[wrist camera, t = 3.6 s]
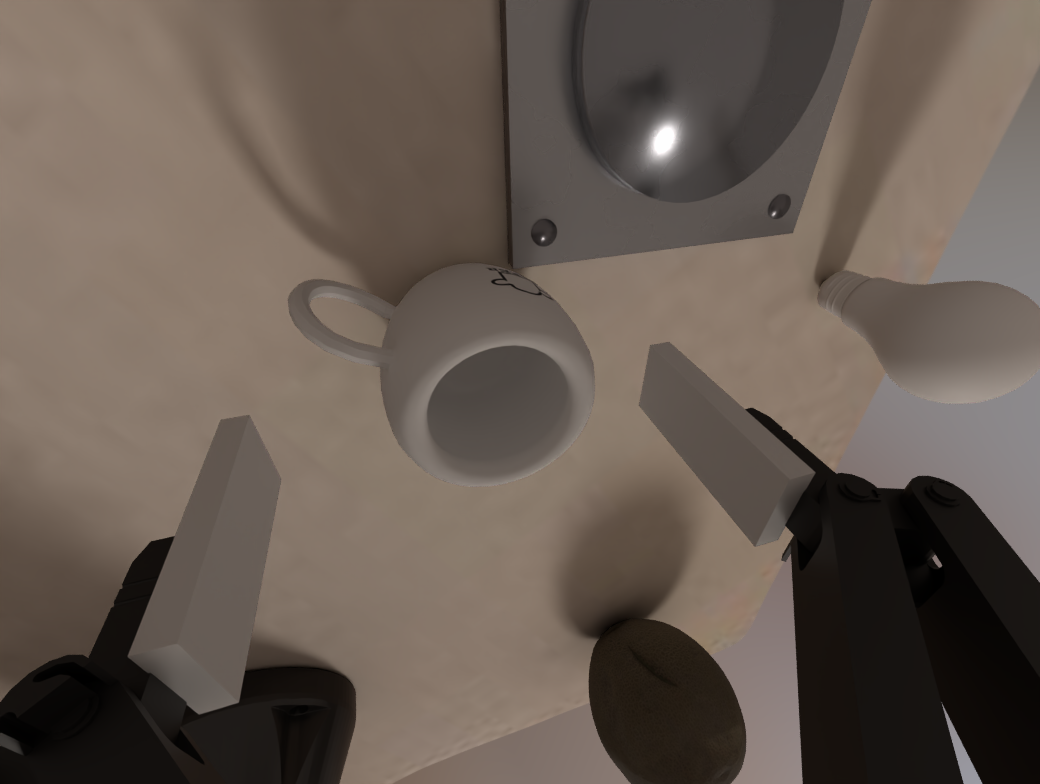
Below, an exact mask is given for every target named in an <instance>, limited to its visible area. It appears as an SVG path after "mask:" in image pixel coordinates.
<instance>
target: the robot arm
mask: <svg viewBox="0 0 1040 784" xmlns="http://www.w3.org/2000/svg"><path fill="white" fill-rule="evenodd" d="M639 406H640V407H641V409H642V410H643V411H644V412H645V414H646V415H647V416H648V417H649V418H650V420H651V421H652V422H653V423H654V425H655V426H656V427H657V428H658V429H659V431H660V432H661V433H662V434H663V435H664V437H665V438H666V439H667V440H668V442H669V443H670V444H671V445H672V446H673V448H674V449H675V450H676V451H677V452H678V454H679V455H680V456H681V457H682V459H683V460H684V461H685V462H686V463H687V465H688V466H689V467H690V468H691V470H692V471H693V472H694V473H695V474H696V476H697V477H698V478H699V479H700V480H701V482H702V483H703V484H704V485H705V487H706V488H707V489H708V490H709V491H710V493H711V494H712V495H713V496H714V498H715V499H716V500H717V501H718V502H719V504H720V505H721V506H722V507H723V508H724V510H725V511H726V512H727V513H728V515H729V516H730V517H731V518H732V519H733V521H734V522H735V523H736V524H737V525H738V527H739V528H740V529H741V530H742V532H743V533H744V534H745V535H746V536H747V538H748V539H749V540H750V541H751V543H752V544H753V545H754V546H755V547H756V546H760V545H763V544H766V543H769V542H773V541H776V540H778V539H779V537H780V535H781V534H782V532H783V530H784V528H785V526H786V527H787V528H788V529H789V530H790V531H791V532H792V533H793V535H794V536H793V538H792V539H791V541H790V543H789V544H788V546H787V548H786V550H785V551H784V553H783V555H782V559H781V560H782V561H785V562H786V560H787V559H788V557H789V555H790V554H791V560H792V581H793V600H794V620H795V640H796V660H797V678H798V699H799V718H800V738H801V758H802V777H803V784H964V783H963V780H962V776H961V773H960V769H959V765H958V761H957V758H956V754H955V751H954V747H953V743H952V740H951V736H950V732H949V728H948V725H947V721H946V718H945V714H944V710H943V707H942V704H943V706H944V708H945V710H946V712H947V714H948V716H949V718H950V720H951V722H952V724H953V726H954V728H955V730H956V732H957V734H958V736H959V738H960V740H961V741H962V744H963V746H964V748H965V750H966V752H967V754H968V756H969V758H970V760H971V762H972V763H973V765H974V768H975V770H976V772H977V774H978V776H979V777H980V779H981V782H982V784H1040V582H1039V581H1038V580H1037V579H1036V577H1035V576H1034V575H1033V574H1032V573H1031V571H1030V570H1029V569H1028V568H1027V566H1026V565H1025V564H1024V563H1023V561H1022V560H1021V559H1020V558H1019V556H1018V555H1017V554H1016V553H1015V551H1014V550H1013V549H1012V548H1011V546H1010V545H1009V544H1008V543H1007V542H1006V540H1005V539H1004V538H1003V536H1002V535H1001V534H1000V533H999V532H998V530H997V529H996V528H995V527H994V525H993V524H992V523H991V522H990V520H989V519H988V518H987V517H986V516H985V514H984V513H983V512H982V511H981V509H980V508H979V507H978V505H977V504H976V503H975V502H974V501H973V499H972V498H971V497H970V496H969V495H967V494H966V493H965V492H964V491H963V490H962V489H960V488H959V487H957V486H955V485H954V484H952V483H950V482H947V481H945V480H942V479H940V478H936V477H931V476H917V477H915V478H913V479H912V480H911V481H910V482H909V484H908V485H907V486H906V488H905V489H889V488H888V489H887V488H877V487H875V485H873V484H872V483H870V482H868V481H867V480H865V479H863V478H860V477H858V476H855V475H852V474H844V473H838V474H836V473H835V472H834V471H832V470H831V469H830V468H829V467H828V466H826V465H825V464H824V463H823V462H822V461H821V460H819V459H818V458H817V457H816V456H815V455H814V454H812V453H811V452H810V451H809V450H808V449H807V448H805V447H804V446H803V445H802V444H801V443H800V442H798V441H797V440H796V439H793V436H791V435H790V434H789V433H788V432H787V431H786V430H783V429H782V427H781V426H780V425H779V424H777V423H776V422H775V421H774V420H773V419H772V418H770V417H769V416H767V415H765V414H763V413H761V412H760V411H758V410H756V409H754V408H749V409H744V408H743V407H742V406H740V405H739V404H738V403H737V402H736V401H735V400H734V399H733V398H732V397H730V396H729V395H728V394H727V393H726V392H725V391H724V390H723V389H721V388H720V387H719V386H718V385H717V384H716V383H715V382H714V381H712V380H711V379H710V378H709V377H708V376H707V375H706V374H705V373H703V372H702V371H701V370H700V369H699V368H698V367H697V366H696V365H695V364H693V363H692V362H691V361H690V360H689V359H688V358H687V357H686V356H684V355H683V354H682V353H681V352H680V351H679V350H678V349H677V348H675V347H674V346H673V345H672V344H671V343H670V342H666V343H660V344H654V345H650V349H649V354H648V360H647V365H646V370H645V376H644V381H643V386H642V392H641V397H640V402H639ZM280 483H281V477H280V475H279V473H278V471H277V469H276V467H275V465H274V463H273V461H272V459H271V457H270V455H269V453H268V451H267V449H266V447H265V445H264V443H263V441H262V439H261V437H260V435H259V433H258V431H257V429H256V427H255V425H254V423H253V421H252V419H251V417H250V415H246V416H240V417H234V418H229V419H223V420H220V423H219V425H218V428H217V431H216V433H215V436H214V438H213V441H212V443H211V446H210V448H209V451H208V453H207V456H206V458H205V461H204V464H203V466H202V469H201V471H200V474H199V476H198V479H197V481H196V484H195V486H194V489H193V492H192V494H191V497H190V499H189V502H188V504H187V507H186V509H185V512H184V514H183V517H182V519H181V522H180V525H179V527H178V530H177V532H176V535H175V536H173V537H169V538H164V539H160V540H155V541H151V542H150V543H149V544H148V545H147V546H146V548H145V549H144V550H143V551H142V552H141V553H140V554H139V556H138V557H137V558H136V559H135V560H134V561H133V562H132V564H131V566H130V568H129V571H128V573H127V575H126V577H125V579H124V582H123V584H122V586H123V588H122V589H120V590H119V592H118V595H117V597H116V599H115V601H114V607H112V608H111V610H110V612H109V614H108V616H107V619H106V621H105V623H104V625H103V627H102V630H101V632H100V634H99V636H98V638H97V640H96V643H95V645H94V647H93V649H92V651H91V654H90V656H89V658H87V657H85V656H84V655H67V656H64V657H61V658H58V659H55V660H52V661H49V662H48V663H46V664H44V665H43V666H41V667H39V668H38V669H36V670H34V671H32V672H31V673H29V674H28V675H27V676H26V677H25V678H23V679H22V680H21V681H20V682H19V683H18V684H16V685H15V686H14V687H13V688H12V689H11V690H10V691H9V692H8V693H7V695H6V696H5V697H4V698H3V700H2V701H1V702H0V745H1V746H0V784H339V783H340V779H341V776H342V772H343V768H344V765H345V761H346V757H347V754H348V750H349V747H350V743H351V739H352V736H353V732H354V728H355V722H356V692H355V689H354V687H353V685H352V684H351V683H350V682H349V681H348V680H347V679H345V678H344V677H342V676H340V675H337V674H335V673H332V672H328V671H324V670H318V669H310V668H279V669H268V670H261V671H255V672H249V673H245V667H246V662H247V657H248V652H249V646H250V641H251V636H252V631H253V625H254V620H255V615H256V610H257V604H258V599H259V594H260V589H261V583H262V578H263V573H264V568H265V562H266V557H267V552H268V546H269V541H270V536H271V531H272V525H273V520H274V515H275V510H276V504H277V499H278V494H279V489H280ZM935 554H936V556H937V558H938V559H939V561H940V562H941V564H942V567H940V568H939V567H938V566H937V565H936V564H935V562H934V561H933V559H932V557H933V556H934V555H935ZM941 702H942V703H941Z"/></svg>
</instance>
